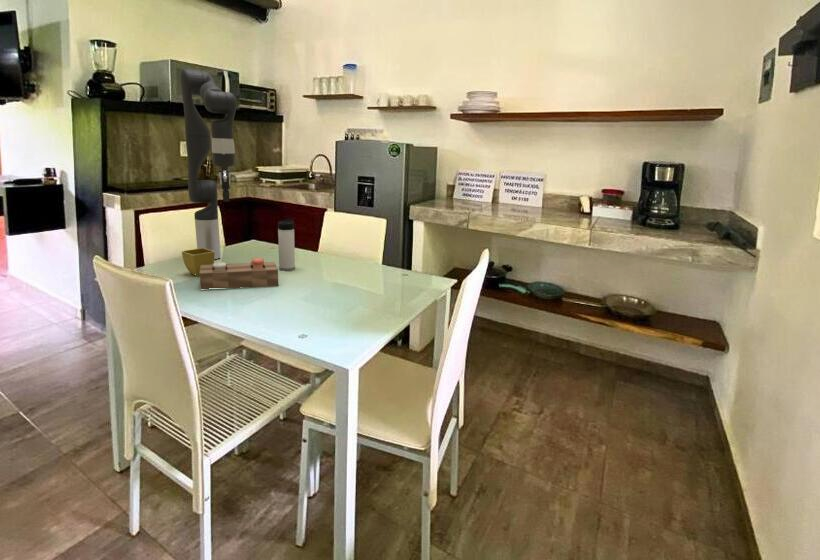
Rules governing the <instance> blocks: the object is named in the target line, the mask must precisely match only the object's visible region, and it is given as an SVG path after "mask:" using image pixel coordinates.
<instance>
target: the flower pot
mask: <svg viewBox="0 0 820 560" xmlns="http://www.w3.org/2000/svg"><path fill="white" fill-rule="evenodd" d="M180 252H181V255H182V259H183V263H184V266H185V268H186V269H187V271H188V272H189V273H190V272H191V273H193V274H192V275H194V274H196V275H200V274H199V273H200V266H201V265H213V263H215V260H214V253H215V251H212V250H208V249H205V248H198V249H197V248H193V249H187V250H182V251H180ZM191 273H190V274H191ZM196 275H195V276H196Z"/></svg>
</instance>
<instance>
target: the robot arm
mask: <svg viewBox="0 0 820 560" xmlns="http://www.w3.org/2000/svg"><path fill="white" fill-rule="evenodd" d="M179 76H180V89H181V96H182V102H183V103H182V104H183V112H184V133H185V135H184V136H185V144H186V145H185V146H186V155H187V170H188V173H187V177H188V178H187V184H188V185H187V187H188V188H187V189H188V190H187V191H188V197H189V200H190V201H191V203H194V204H201V203H203V204H204V203H205V204H207V205H206V206H205V207H204V208H201V209H198V210H196V211H195V212H194V215H193V216H194V225H195V227H194V228H195V238H196V241H195V242H196V249H198V248H205V249H208V250H212V251H215V253H214V259H217V260H219V259H218V258H220V257H222V256H221V255H222V254H221V240H220V239H221V238H220V237H221V236H220V225H219V209H218V208H219V205H218V203H219V202H218V187H217V183H216V181H215V180H212V179H211V180H210V179H201V180H199V179H198V175H199V171H200V169H201V166H202V165H203V163H204V161H205V160H206V158H207V157H208V154H210V151H211V154H212V155H211V157H212V165H213V166H217V167H220V170H218V176H219V184H220V185H221V192H222V201H223V202H230V190H231V189H230V188H231V187H230V185H231V176H232V173H231V170H229V167H234V166H236V152H235V151H236V149H235V147H236V146H235V141H234V127H233V126H234V120H235V115H236V111H237V108H238V107H237V106H238V100H237V98H236V96H235V95H234V94H233V93H232V92H229V91H228V92H227V91H223V90H222V89H221V88H220V87H218V86H217V84H216V83H215V80H214V78H213V76H212V75H211V74H210V73H209V72H208V71H206V70H201V69H200V70H199V69H190V68H183V69H181V72H180V75H179ZM193 96H200V98H201V99H202V100H203V104H204V107H205V109H206V111H208V112H210V113H212V114H224V117H223V118H222V119H218V120H217V119H216V120H213V121H211V123H210V127H211V128H209V126H208V125H207V123H206V121H205V120H204V119H203V117H202V116H201V114H200V113H199V111H198V109H197V108H196V106H195V104H194V103H195V102H194V99H193ZM210 130H211V131H210ZM220 259H221V258H220Z"/></svg>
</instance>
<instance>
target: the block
mask: <svg viewBox="0 0 820 560" xmlns="http://www.w3.org/2000/svg"><path fill="white" fill-rule="evenodd" d="M199 274H200V276H199V283H200V284H199V285H200V290H201V289H209V288H233V289H241V288H240V287H250V288H262V287H277V286H279V268H278V267H277V265H276V262H275V261H264V263H263V268H254V269H253V263H251V262H244V263H242V262H240V263H239V262H238V263H237V262H236V263H226V267H225V270H215V268H213V265H201V266H200V273H199Z"/></svg>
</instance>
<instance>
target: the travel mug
mask: <svg viewBox="0 0 820 560" xmlns="http://www.w3.org/2000/svg"><path fill="white" fill-rule="evenodd" d="M277 238H278V265H279V266H278V270H280V271H283V272H284V271H288V272H291V271H294V270H295V269H296V259H295V258H296V257H295V254H296V252H295V223H294V220H291V219H290V218H289V219H288V218H287V219H286V218H285V219H283V220H279V221H278V222H277Z"/></svg>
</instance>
